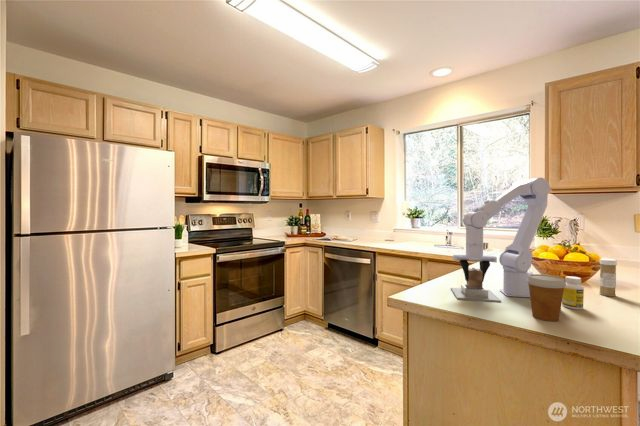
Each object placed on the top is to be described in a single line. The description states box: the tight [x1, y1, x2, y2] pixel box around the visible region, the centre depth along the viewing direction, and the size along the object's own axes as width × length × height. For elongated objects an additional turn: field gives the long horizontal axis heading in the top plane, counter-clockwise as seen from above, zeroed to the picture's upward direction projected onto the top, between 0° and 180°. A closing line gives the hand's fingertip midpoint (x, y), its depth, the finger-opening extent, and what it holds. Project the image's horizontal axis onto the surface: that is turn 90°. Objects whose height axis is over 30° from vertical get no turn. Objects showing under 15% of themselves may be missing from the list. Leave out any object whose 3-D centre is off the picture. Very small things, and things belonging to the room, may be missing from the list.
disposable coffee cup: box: [527, 273, 566, 322], centre depth 91 cm, size 10×10×12 cm
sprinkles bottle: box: [598, 257, 618, 297], centre depth 114 cm, size 5×5×14 cm
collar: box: [460, 283, 489, 297], centre depth 114 cm, size 8×8×2 cm
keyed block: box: [466, 267, 484, 288], centre depth 114 cm, size 4×4×6 cm
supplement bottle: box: [561, 275, 585, 310], centre depth 100 cm, size 5×5×10 cm
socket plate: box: [450, 287, 502, 303], centre depth 114 cm, size 14×14×1 cm
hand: (474, 280), depth 114 cm, fingers closed on keyed block, 4 cm apart
